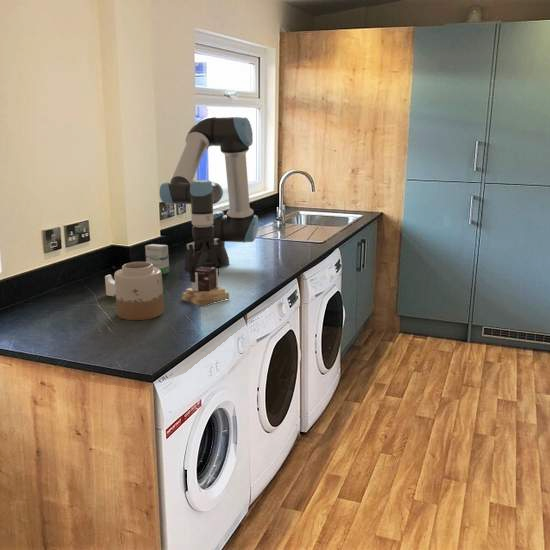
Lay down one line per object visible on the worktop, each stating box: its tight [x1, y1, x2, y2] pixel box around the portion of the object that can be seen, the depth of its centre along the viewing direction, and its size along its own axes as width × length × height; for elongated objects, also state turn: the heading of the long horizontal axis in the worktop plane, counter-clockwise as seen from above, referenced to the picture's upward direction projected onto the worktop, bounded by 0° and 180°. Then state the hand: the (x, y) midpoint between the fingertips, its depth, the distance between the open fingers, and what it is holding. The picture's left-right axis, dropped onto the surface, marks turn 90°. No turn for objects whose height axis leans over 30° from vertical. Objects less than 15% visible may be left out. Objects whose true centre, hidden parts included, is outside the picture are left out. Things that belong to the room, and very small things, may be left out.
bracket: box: [104, 274, 116, 297], centre depth 229 cm, size 13×7×8 cm, turn 157°
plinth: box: [181, 286, 230, 307], centre depth 218 cm, size 12×12×4 cm
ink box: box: [144, 243, 170, 275], centre depth 256 cm, size 9×5×12 cm, turn 65°
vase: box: [113, 261, 164, 321], centre depth 202 cm, size 15×15×17 cm
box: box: [196, 267, 216, 291], centre depth 217 cm, size 6×6×7 cm
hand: (205, 287), depth 218 cm, fingers open, 8 cm apart
